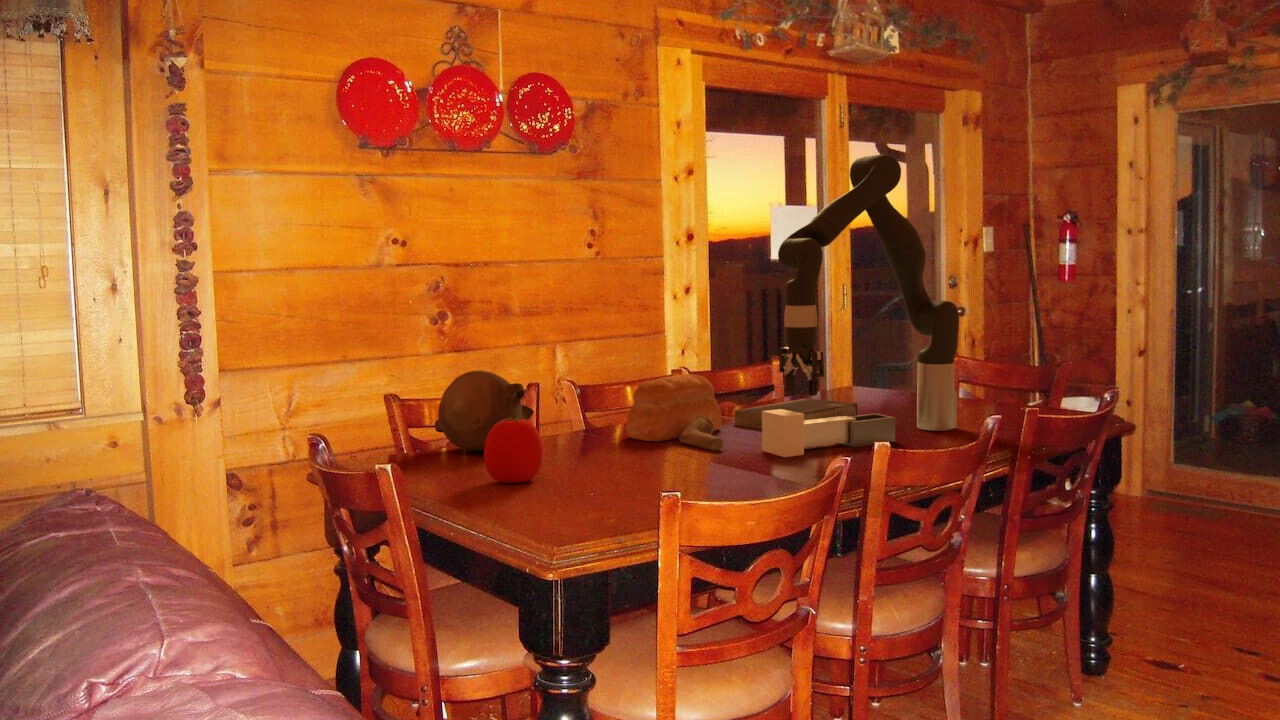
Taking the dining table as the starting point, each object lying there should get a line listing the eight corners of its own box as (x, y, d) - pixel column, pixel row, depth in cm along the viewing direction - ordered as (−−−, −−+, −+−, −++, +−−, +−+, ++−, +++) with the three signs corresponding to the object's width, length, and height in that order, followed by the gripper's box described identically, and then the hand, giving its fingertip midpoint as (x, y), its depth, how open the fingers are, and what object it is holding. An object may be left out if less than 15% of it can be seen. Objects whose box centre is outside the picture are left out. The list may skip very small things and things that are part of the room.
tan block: (781, 448, 255) (781, 409, 254) (804, 454, 247) (803, 413, 246) (762, 450, 252) (761, 411, 251) (784, 457, 244) (784, 416, 243)
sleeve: (875, 437, 267) (875, 413, 266) (895, 441, 260) (895, 417, 260) (833, 442, 261) (834, 418, 260) (852, 447, 254) (853, 422, 254)
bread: (620, 438, 273) (619, 379, 271) (690, 425, 291) (689, 369, 289) (657, 444, 263) (656, 383, 261) (727, 430, 281) (727, 373, 279)
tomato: (493, 490, 216) (490, 421, 215) (478, 479, 227) (476, 413, 225) (552, 483, 221) (550, 416, 220) (535, 473, 232) (533, 408, 230)
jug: (480, 462, 245) (547, 460, 272) (500, 379, 244) (565, 385, 271) (411, 439, 253) (483, 439, 280) (430, 358, 253) (500, 366, 280)
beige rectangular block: (843, 438, 260) (843, 414, 260) (856, 441, 256) (856, 417, 256) (776, 447, 251) (775, 422, 251) (788, 450, 247) (787, 425, 246)
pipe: (709, 433, 251) (741, 421, 256) (667, 424, 264) (698, 413, 270) (713, 459, 252) (745, 447, 257) (671, 448, 265) (702, 437, 271)
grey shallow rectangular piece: (804, 414, 308) (804, 397, 307) (857, 421, 293) (857, 403, 293) (734, 426, 289) (734, 408, 288) (787, 435, 275) (786, 415, 274)
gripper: (832, 325, 244) (833, 395, 246) (795, 321, 257) (796, 388, 258) (806, 327, 241) (806, 398, 242) (769, 323, 253) (770, 391, 255)
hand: (801, 393), depth 250 cm, fingers open, 8 cm apart
